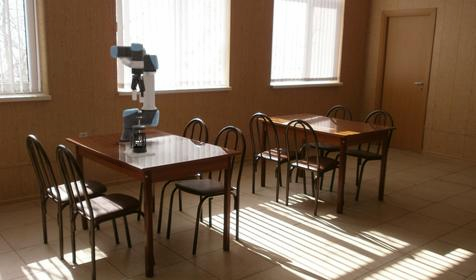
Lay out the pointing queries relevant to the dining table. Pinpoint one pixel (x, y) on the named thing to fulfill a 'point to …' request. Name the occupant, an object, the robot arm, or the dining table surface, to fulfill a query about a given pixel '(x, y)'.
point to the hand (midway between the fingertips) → (138, 101)
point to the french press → (139, 147)
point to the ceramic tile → (132, 154)
